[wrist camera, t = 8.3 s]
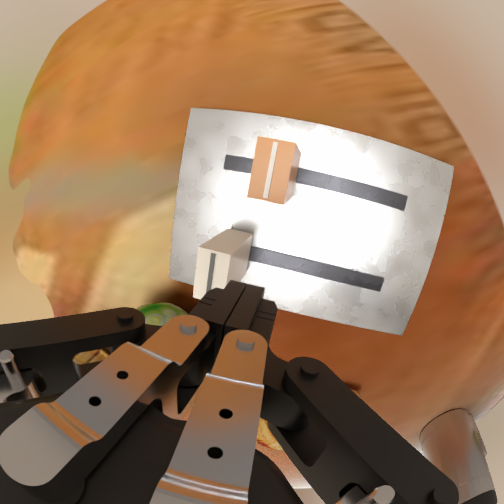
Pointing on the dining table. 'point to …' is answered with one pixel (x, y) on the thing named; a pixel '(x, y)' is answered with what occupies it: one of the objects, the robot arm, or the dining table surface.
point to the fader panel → (315, 216)
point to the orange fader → (274, 170)
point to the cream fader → (221, 261)
